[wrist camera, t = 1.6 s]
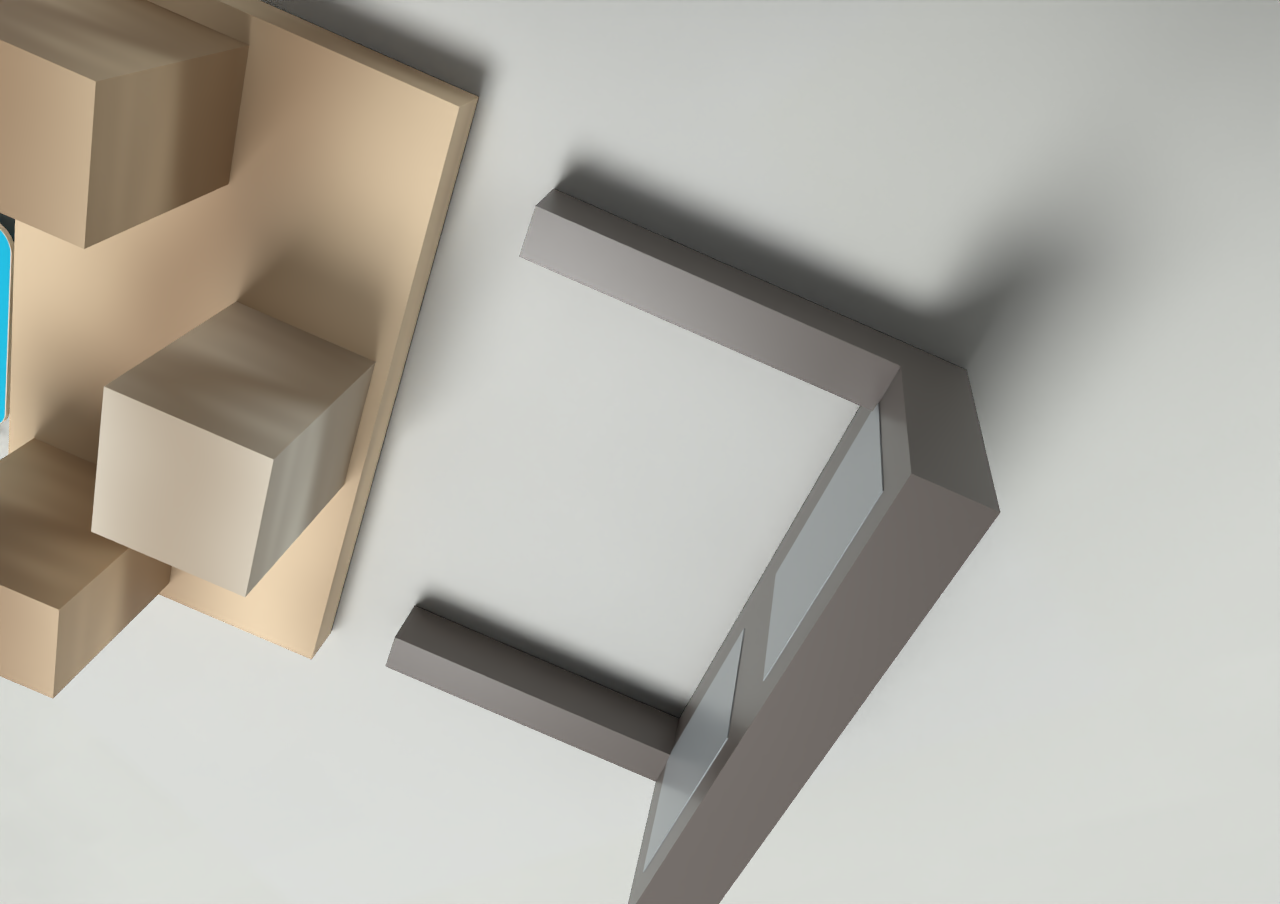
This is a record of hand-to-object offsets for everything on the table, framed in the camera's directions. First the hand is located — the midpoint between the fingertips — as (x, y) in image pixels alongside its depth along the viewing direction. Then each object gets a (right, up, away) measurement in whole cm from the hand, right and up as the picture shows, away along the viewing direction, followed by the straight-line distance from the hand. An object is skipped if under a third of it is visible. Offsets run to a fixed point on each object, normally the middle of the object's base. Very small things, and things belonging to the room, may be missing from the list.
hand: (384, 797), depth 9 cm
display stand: (-7, +6, +12) cm, 15 cm away
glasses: (+3, +2, +12) cm, 13 cm away
